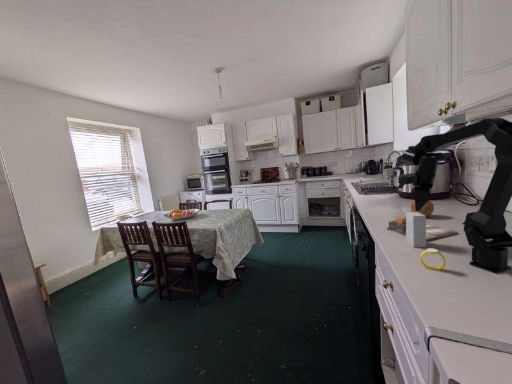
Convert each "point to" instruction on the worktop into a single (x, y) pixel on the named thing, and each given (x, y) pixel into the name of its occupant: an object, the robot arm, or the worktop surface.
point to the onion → (424, 208)
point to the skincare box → (416, 229)
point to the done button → (401, 220)
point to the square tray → (431, 231)
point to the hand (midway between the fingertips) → (418, 206)
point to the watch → (433, 251)
